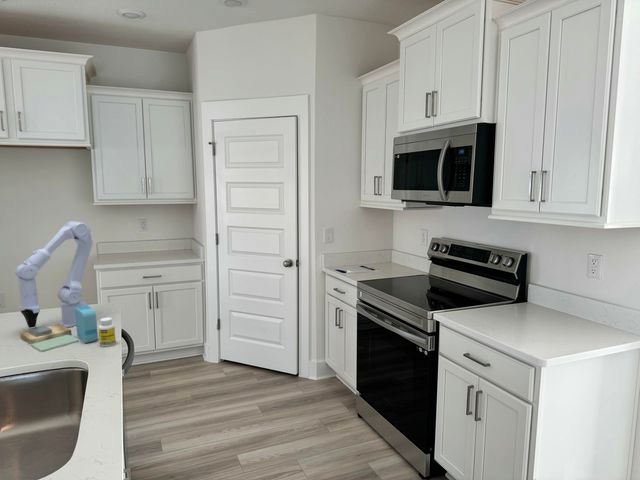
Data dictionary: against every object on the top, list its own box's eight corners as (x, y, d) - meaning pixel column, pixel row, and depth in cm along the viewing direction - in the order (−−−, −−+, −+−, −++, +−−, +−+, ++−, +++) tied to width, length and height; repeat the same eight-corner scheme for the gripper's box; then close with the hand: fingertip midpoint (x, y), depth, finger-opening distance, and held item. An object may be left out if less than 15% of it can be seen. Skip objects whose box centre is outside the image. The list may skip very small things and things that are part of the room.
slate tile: (44, 328, 177) (43, 325, 177) (51, 333, 172) (51, 329, 172) (28, 332, 173) (28, 329, 173) (36, 337, 168) (35, 333, 168)
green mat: (68, 335, 175) (67, 334, 175) (79, 341, 168) (79, 340, 168) (30, 345, 165) (30, 344, 165) (41, 352, 158) (41, 350, 158)
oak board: (59, 328, 184) (58, 323, 183) (71, 334, 176) (71, 329, 176) (20, 338, 173) (20, 333, 173) (31, 345, 165) (31, 339, 165)
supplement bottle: (100, 347, 162) (97, 322, 161) (99, 343, 167) (97, 318, 165) (116, 345, 164) (114, 319, 163) (115, 340, 169) (113, 315, 168)
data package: (98, 341, 169) (95, 310, 167) (85, 344, 166) (82, 313, 164) (89, 333, 178) (86, 304, 176) (77, 336, 175) (74, 306, 173)
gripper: (10, 293, 177) (14, 325, 179) (23, 299, 168) (27, 333, 170) (30, 289, 183) (33, 321, 185) (44, 295, 174) (47, 328, 176)
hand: (32, 326), depth 178 cm, fingers closed
